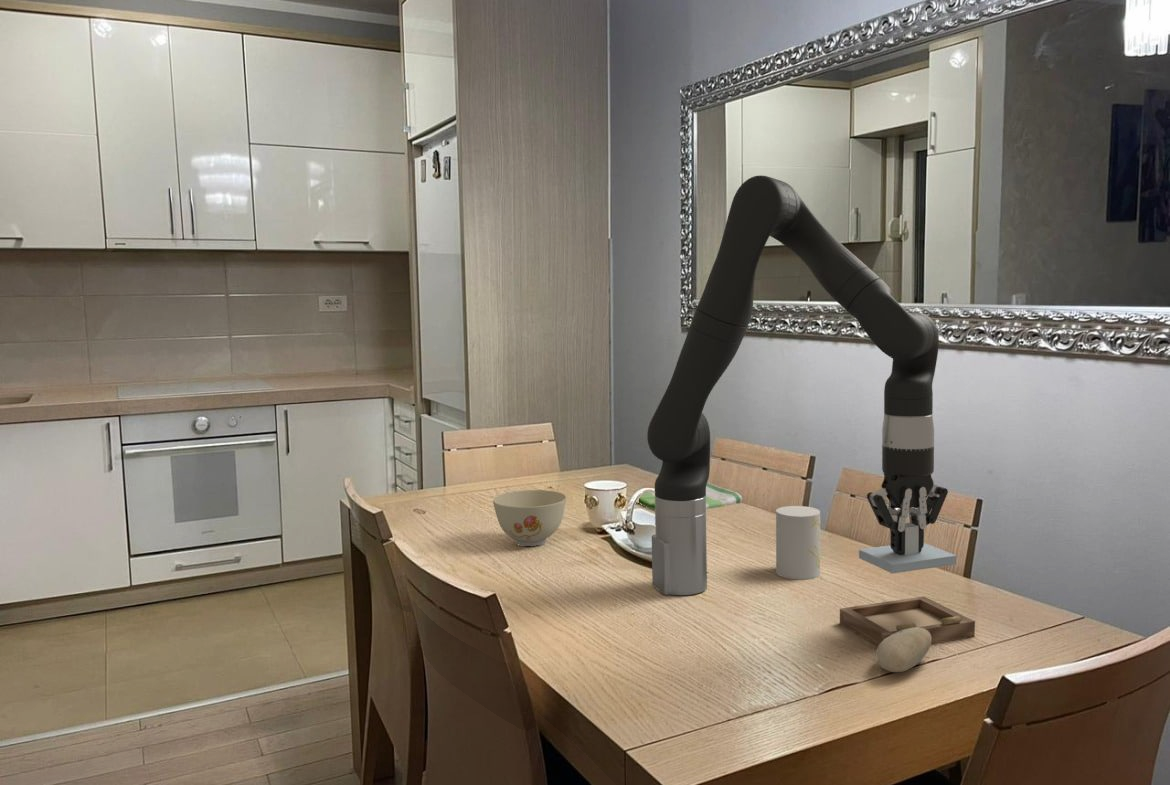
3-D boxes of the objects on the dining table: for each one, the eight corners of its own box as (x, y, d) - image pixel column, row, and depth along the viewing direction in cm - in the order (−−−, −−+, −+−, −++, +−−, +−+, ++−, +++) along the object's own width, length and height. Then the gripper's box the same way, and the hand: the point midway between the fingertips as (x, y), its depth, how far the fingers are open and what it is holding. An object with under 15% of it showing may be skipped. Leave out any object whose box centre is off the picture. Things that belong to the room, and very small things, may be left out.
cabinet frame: (885, 651, 132) (885, 629, 131) (839, 622, 143) (839, 602, 143) (974, 636, 136) (975, 615, 136) (923, 610, 148) (924, 590, 147)
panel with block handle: (892, 573, 133) (892, 535, 132) (859, 557, 141) (859, 522, 140) (956, 564, 136) (956, 527, 136) (920, 549, 144) (920, 514, 144)
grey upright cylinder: (821, 580, 164) (821, 517, 163) (776, 578, 166) (776, 515, 164) (818, 566, 172) (819, 506, 171) (776, 565, 174) (775, 505, 172)
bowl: (481, 549, 190) (479, 504, 188) (514, 530, 204) (513, 488, 203) (549, 556, 184) (547, 509, 182) (578, 536, 198) (577, 492, 197)
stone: (864, 657, 123) (886, 608, 133) (882, 695, 124) (903, 643, 133) (903, 654, 120) (924, 603, 129) (922, 693, 121) (941, 640, 130)
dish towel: (744, 504, 225) (744, 491, 225) (668, 517, 214) (668, 503, 214) (704, 492, 240) (704, 479, 240) (631, 503, 229) (631, 490, 229)
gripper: (883, 450, 131) (883, 564, 133) (962, 443, 135) (961, 553, 137) (854, 442, 138) (854, 551, 140) (929, 436, 142) (928, 541, 144)
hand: (907, 551), depth 138 cm, fingers closed on panel with block handle, 2 cm apart
